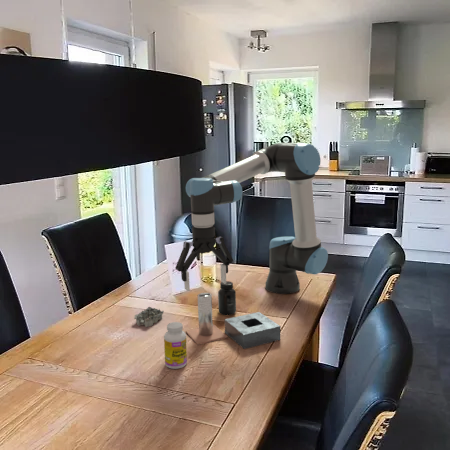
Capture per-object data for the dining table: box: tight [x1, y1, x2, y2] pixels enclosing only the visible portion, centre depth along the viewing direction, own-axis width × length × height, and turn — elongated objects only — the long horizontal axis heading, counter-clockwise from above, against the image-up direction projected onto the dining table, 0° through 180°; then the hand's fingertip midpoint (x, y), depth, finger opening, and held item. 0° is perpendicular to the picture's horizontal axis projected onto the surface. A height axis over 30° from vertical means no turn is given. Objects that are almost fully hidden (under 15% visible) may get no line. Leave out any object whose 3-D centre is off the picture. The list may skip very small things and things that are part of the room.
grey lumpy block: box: [133, 306, 165, 328], centre depth 175 cm, size 11×8×4 cm
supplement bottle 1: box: [163, 321, 188, 370], centre depth 142 cm, size 7×7×13 cm
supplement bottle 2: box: [217, 280, 237, 316], centre depth 181 cm, size 7×7×12 cm
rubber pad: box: [185, 324, 228, 345], centre depth 163 cm, size 11×11×1 cm
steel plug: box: [197, 292, 213, 336], centre depth 161 cm, size 5×5×14 cm
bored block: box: [224, 311, 281, 350], centre depth 161 cm, size 14×14×5 cm
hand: (205, 286), depth 160 cm, fingers open, 13 cm apart
